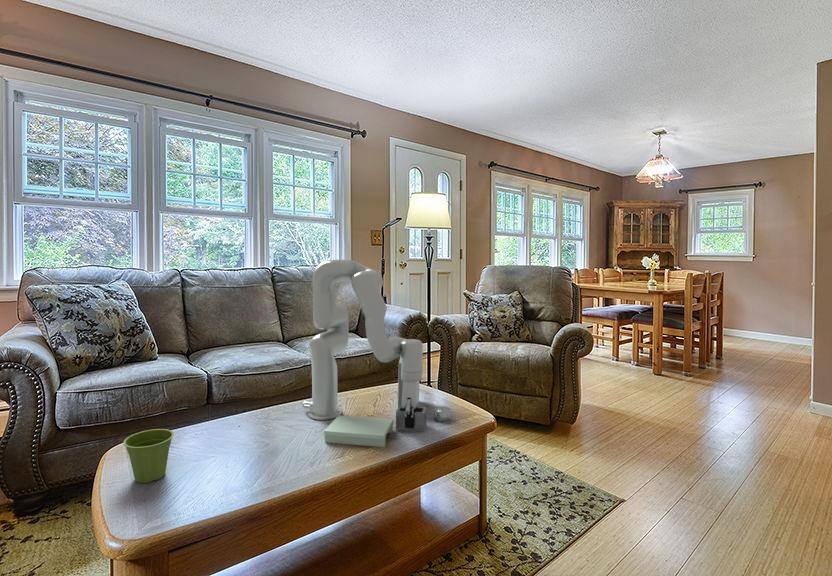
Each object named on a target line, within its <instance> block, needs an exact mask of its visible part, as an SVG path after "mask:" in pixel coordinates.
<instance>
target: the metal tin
mask: <svg viewBox="0 0 832 576" xmlns="http://www.w3.org/2000/svg"><path fill="white" fill-rule="evenodd" d="M433 413H434V414H433V420H434V421H435V422H436V423H437V422H438V423H440V424H441V423H443V422H446V423H449V422H451V408H449V407H447V406H437V407H435V408H434V410H433ZM448 421H449V422H448ZM443 424H444V423H443Z"/></svg>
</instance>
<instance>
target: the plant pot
mask: <svg viewBox="0 0 832 576" xmlns="http://www.w3.org/2000/svg"><path fill="white" fill-rule="evenodd" d="M174 436H175V432H174V431H173V430H170V429H166V428H156V429H155V428H153V429H148V430H143V431H142V430H141V431H139V432H136V433H134V434H131V435H130V436H127V437H126V438H125V439H124V440H123V444H122V445H123V446H124V447H125V448H126V451H127V453H128V456H129V461H130V465H131V468H132V474H133V477H134V480H135V481H136V482H137V483H139V484H146V483H147V484H148V483H151V482H153V481H158V480H160V479H162V478H163V477H165V475H166V471H167V465H168V459H169V458H168V457H169V452H170V446H171V444H172V440H173V439H172V438H173V437H174Z"/></svg>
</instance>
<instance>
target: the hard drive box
mask: <svg viewBox="0 0 832 576" xmlns="http://www.w3.org/2000/svg"><path fill="white" fill-rule="evenodd" d="M398 361H399V362H398V373H397V374H398V376H397V377H398V379H397V380H398V381H397V385H398V386H397V408H398V407H399V406H402V390H403V380H402V379H401V357H399V360H398Z"/></svg>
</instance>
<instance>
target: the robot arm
mask: <svg viewBox="0 0 832 576" xmlns="http://www.w3.org/2000/svg"><path fill="white" fill-rule="evenodd" d="M347 282H349V283H350V284H351V287H352V289H353V292H354V295H355V297H356V299H357V301H358V303H359V306H360V308H361V310H362V313H363V315H364V319H365V321H364V322H365V325H364V326H365V327H364V328H365V335H366V339H367V342H368V345H369V347H370V349H371V351H372V353H373V355H374V356H375V358H376V359H377V360H378V361H380V362H381V363H391V362H392V361H393V360H396V359H398V358H400V357H401V379H402V380H403V390H402V409H404V408H405V407H406V412H405V428H412V429H413V428H414V417H413V415H414V409H415V408H416V407H419V406H418V404H419V402H420V382H421V381H422V380H423V362H424V361H423V358H424V357H423V356H424V354H423V353H424V351H423V350H424V345H423V342H422V340H419V339H416V338H410V339H408V338H403V337H401V336H391V337H388V335H387V333H386V329H385V324H384V322H385V321H384V320H385V316H386V313H387V310H388V308H387V305H386V303H385V300H384V298H383V296H382V294H381V292H380V291H381V289H382V287H383V286H384V279H383V276H382V275H381V274H380V272H378V271H377V270H375V269H373V268H370V267H368V266H366V265H364V264H362V263H359V262H357V261H355V260H353V259H329V260H325V261H323V262H322V263H320V264H318V265H317V267H316V268H315V269H314V271H313V274H312V291H313V295H312V296H313V298H312V313H313V314H312V321H313V325H314V326H315V328H316V329H318V330H327V331H324V332H320V333H318V334H316V335H314V337H312V338H311V340H310V341H309V346H308V349H309V355H310V360H311V385H312V386H311V389H312V390H311V392H312V394H311V401H303V403H302V407H303V409H308V410H309V411H307V412H308V418H311V419H314V420H319V421H320V420H322V421H325V420H331V419H336V418H337V416H338V415H342V412H343V410H342V408H341V407H339V406H338V365H337V361H336V358H335V355H338V354H340V353H342V352H343V351H345V350H346V349H347V347H348V345H349V336H350V335H349V333H350V332H349V330H350V329H349V328H350V327H349V325H350V324H349V323H350V322H349V321H350V319H349V311H348V309H347V307H346V306H345V305H344V304H342V302H339V301H337V292H336V287H335V285H334V284H336V283H347ZM410 406H411V407H413V408H410ZM410 410H412V412H411V411H410Z"/></svg>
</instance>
